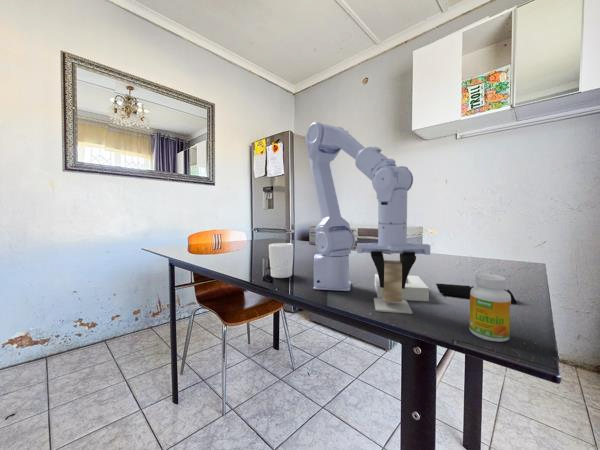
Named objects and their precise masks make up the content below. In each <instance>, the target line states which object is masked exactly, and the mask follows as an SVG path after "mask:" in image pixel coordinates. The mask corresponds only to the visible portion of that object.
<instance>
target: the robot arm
mask: <svg viewBox="0 0 600 450" xmlns="http://www.w3.org/2000/svg"><path fill="white" fill-rule="evenodd" d="M304 140H305V144H306V149H307V156H308V157H309V166H310V172H311V176H312V181H313V186H314V191H315V194H316V195H315V196H316V201H317V205H318V209H319V215H320V219H321V221H320V222H319V223H318V224H317V226H315V228H314V231H315V242H314V243H315V247H316V249H317V252H319V253H315V254H314V257H313V289H314V290H319V291H320V290H322V291H340V292H343V291H344V292H350V291H351V284H352V282H351V280H350V254H351V253H352V250H353V248H355V246H356V247H357V248H356V253H357V254H363V253H366V254H367V253H368V254H370V257H371V260H372V261H373V264H374V266H375V268H376V271H377V274H378V276H379V282H380V287H381V288H384V275H383V268H384V260H385V258H384V254H399V261H400V262H401V263H402V289H405V284H406V280H407V277H408V275H409V273H410V272H411V269H412V268H413V266H414V264H415V263H416V260H417V255H426V256H427V255H429V256H431V245H430V244H428V243H426V244H425V243H408V242H407V241H408V239H407V236H408V233H407V232H408V191H410V190H411V188H412V186H413V183H414V176H413V173H412V171H411V170H410V169H409V168H408V167H407V166H403V165H402V166H397V164H396V160H395V159H394V158H388V157H387V156H386V155H384V154H383V153H382V151H383V150H382V149H381V148H380V147H377V146H374V147H373V146H368V147H365V146H364V145H363V144H361V143H360V141H358V140H357V139H356V138H355V137H354V136H353V135H352V134H350V133H349V130H346V129H344V128H343V127H341V126H333V125H329V124H325V123H321V122H319V121H314V122H312V123H311V124H310V125H309V127H308V129H307V132H306V134H305V138H304ZM341 151H343V152H344V153H346V154H347V155H349V157H351V158H352V159H353V160H355V167H356V169H358V171H360V172H361V173H362V174H364V176H366V178H368V180H370V181H371V183H372V188H373V190H374V191H375V192H376V199H377V204H378V207H377V212H378V213H377V214H378V216H377V217H378V218H377V219H378V220H377V221H378V223H377V224H378V225H377V231H378V232H377V242H364V243H362V242H360V243H359V242H356V237H355V234H354V232H353V231H352V229H351V226H350V223H349V222H348V221H347V220H346V219H345V218H343V217H342V214H341V210H340V206H339V200H338V197H337V192H336V188H335V183H334V180H333V179H334V178H333V175H332V174H333V173H332V169H331V165H330V163H331V162H332V161H334V160H335V159H336V158H337V156H338V155H339V153H340V152H341Z"/></svg>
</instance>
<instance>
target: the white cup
mask: <svg viewBox="0 0 600 450" xmlns="http://www.w3.org/2000/svg"><path fill="white" fill-rule="evenodd" d="M268 256H269V267H270V276H271V277H272V278H277V279H284V278H289V277H292V275H293V262H294V244H293V243H288V242H275V243H274V242H273V243H269V244H268Z"/></svg>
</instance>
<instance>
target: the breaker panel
mask: <svg viewBox="0 0 600 450" xmlns="http://www.w3.org/2000/svg"><path fill="white" fill-rule="evenodd" d="M374 288H375V291H376V296H377V297H376V298H383V296H382V295H383V288H381V287H380V282H379V276H378V273H374ZM429 294H430V288H429V286H428V285H427V284H425V282H424V281H423V280H422V279H421V278H420V276H419V275H409V274H408V277H407V280H406V284H405V289H402V300H406V301H414V302H415V301H419V302H429V301H430V299H429V298H430V295H429Z"/></svg>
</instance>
